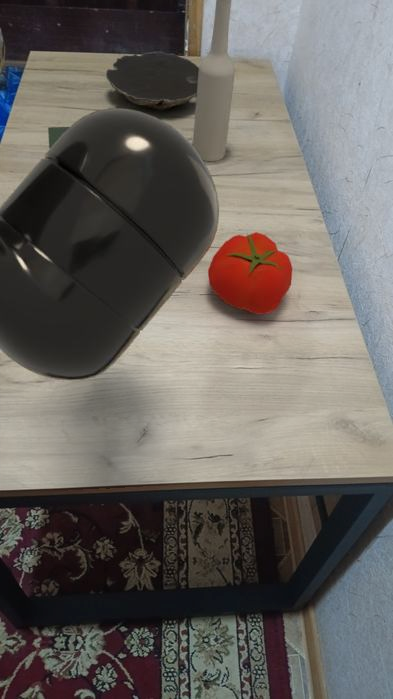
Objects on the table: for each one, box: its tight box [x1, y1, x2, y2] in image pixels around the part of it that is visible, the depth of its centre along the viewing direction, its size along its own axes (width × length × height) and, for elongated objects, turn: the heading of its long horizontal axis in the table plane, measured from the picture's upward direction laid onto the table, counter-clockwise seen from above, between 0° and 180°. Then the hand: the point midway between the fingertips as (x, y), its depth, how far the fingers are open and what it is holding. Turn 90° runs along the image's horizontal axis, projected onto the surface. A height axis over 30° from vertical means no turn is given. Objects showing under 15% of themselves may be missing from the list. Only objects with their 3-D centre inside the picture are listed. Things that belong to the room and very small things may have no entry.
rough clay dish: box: [105, 51, 199, 112], centre depth 108 cm, size 22×22×5 cm
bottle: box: [192, 0, 236, 162], centre depth 87 cm, size 7×7×28 cm
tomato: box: [207, 231, 293, 315], centre depth 72 cm, size 13×12×8 cm
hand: (95, 270), depth 52 cm, fingers closed on plastic container, 5 cm apart
